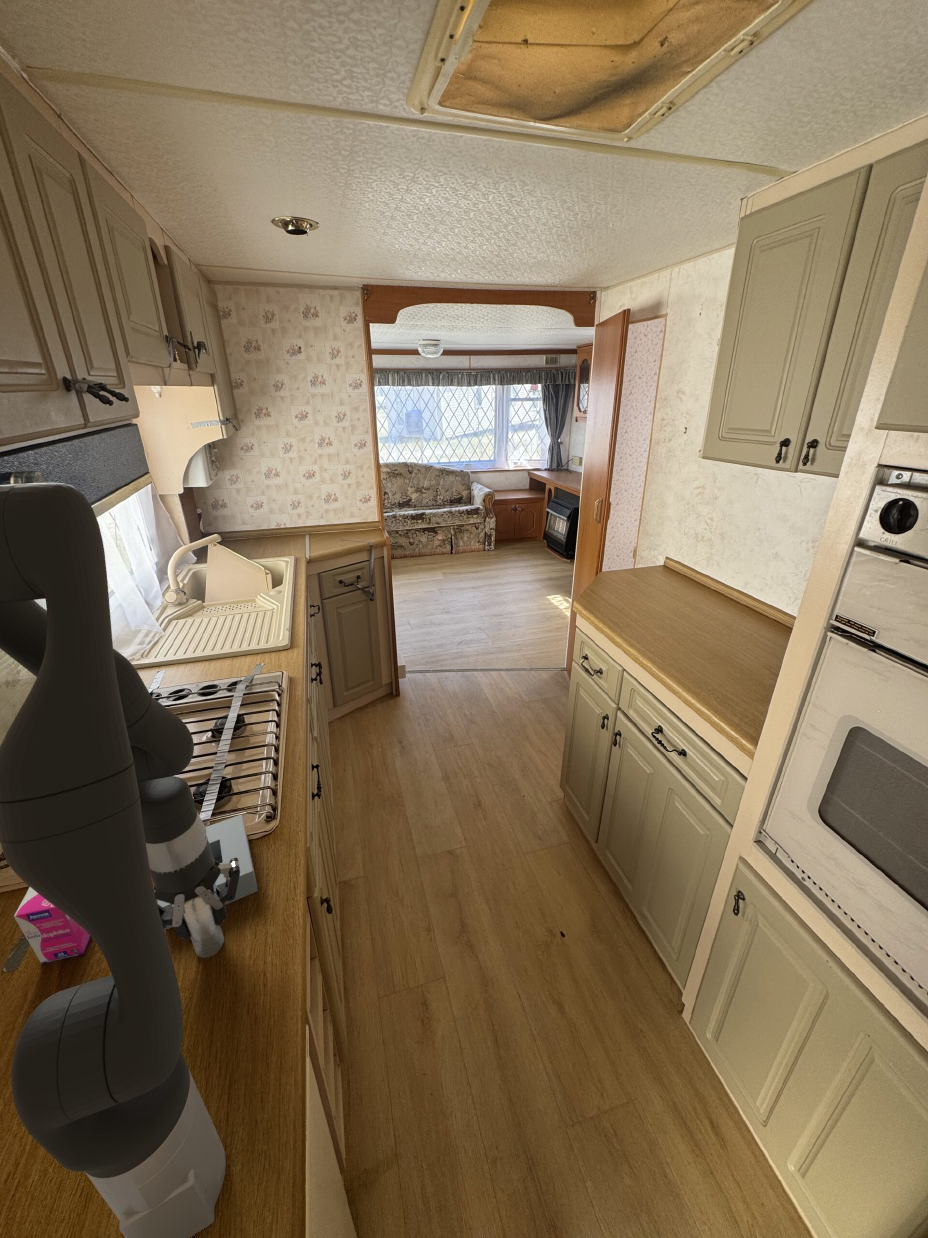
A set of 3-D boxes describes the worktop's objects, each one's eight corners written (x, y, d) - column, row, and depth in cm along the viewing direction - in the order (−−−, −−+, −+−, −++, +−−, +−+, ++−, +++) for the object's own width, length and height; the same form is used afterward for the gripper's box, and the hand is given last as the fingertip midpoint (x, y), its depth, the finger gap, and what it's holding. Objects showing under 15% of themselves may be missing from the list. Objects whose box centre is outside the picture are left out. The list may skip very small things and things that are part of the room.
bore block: (258, 891, 86) (252, 871, 84) (165, 930, 80) (157, 909, 78) (246, 833, 97) (241, 814, 95) (164, 863, 91) (157, 844, 89)
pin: (225, 950, 77) (208, 897, 72) (196, 963, 75) (177, 910, 70) (222, 927, 80) (206, 876, 75) (195, 939, 79) (176, 887, 74)
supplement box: (40, 967, 75) (11, 916, 70) (57, 929, 80) (31, 880, 75) (84, 956, 76) (58, 906, 72) (99, 920, 82) (75, 871, 77)
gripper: (113, 891, 63) (150, 974, 70) (235, 845, 69) (257, 926, 76) (117, 848, 69) (150, 928, 76) (229, 809, 75) (250, 887, 82)
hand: (204, 927), depth 76 cm, fingers closed on pin, 4 cm apart
